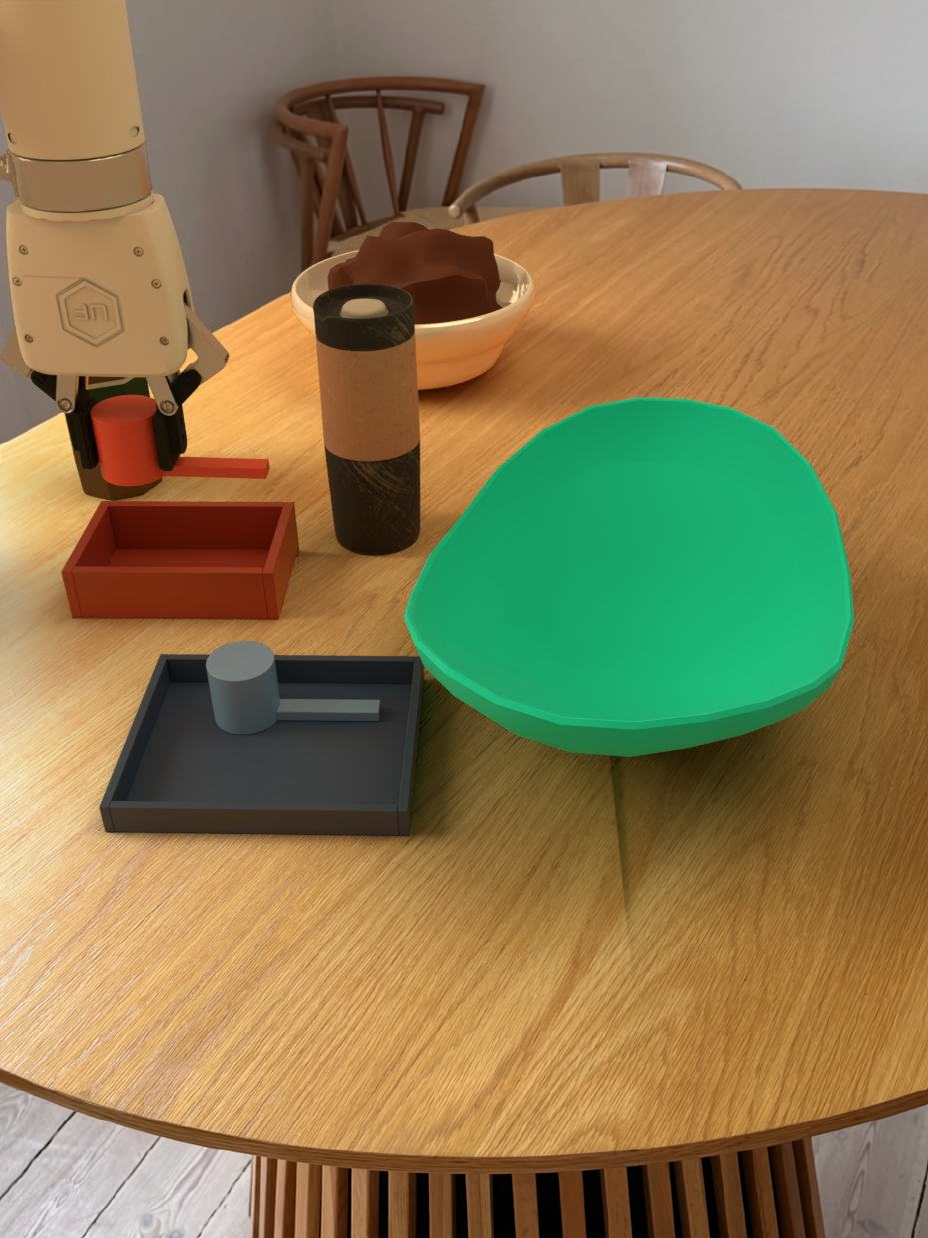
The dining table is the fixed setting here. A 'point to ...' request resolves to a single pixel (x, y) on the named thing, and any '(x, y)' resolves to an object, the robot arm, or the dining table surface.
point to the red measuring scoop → (151, 447)
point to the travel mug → (370, 415)
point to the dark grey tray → (271, 755)
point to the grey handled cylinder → (267, 693)
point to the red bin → (183, 561)
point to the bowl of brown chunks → (434, 295)
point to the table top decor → (640, 583)
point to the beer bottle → (93, 477)
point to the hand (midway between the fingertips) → (133, 458)
